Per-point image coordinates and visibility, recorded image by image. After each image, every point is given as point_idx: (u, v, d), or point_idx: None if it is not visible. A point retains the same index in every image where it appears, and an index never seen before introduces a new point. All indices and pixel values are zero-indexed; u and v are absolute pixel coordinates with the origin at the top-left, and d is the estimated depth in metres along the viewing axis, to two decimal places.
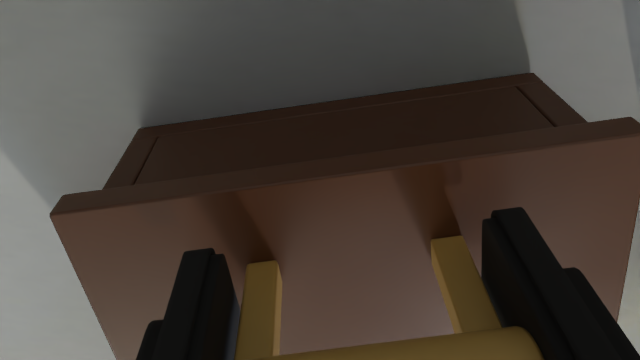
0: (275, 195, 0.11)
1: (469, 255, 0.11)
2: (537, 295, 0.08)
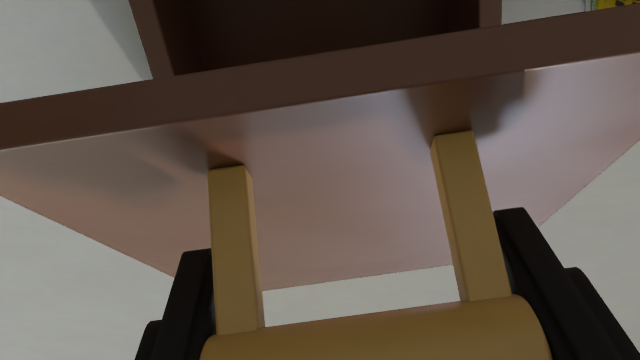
0: (236, 122, 0.08)
1: (479, 168, 0.09)
2: (539, 295, 0.08)
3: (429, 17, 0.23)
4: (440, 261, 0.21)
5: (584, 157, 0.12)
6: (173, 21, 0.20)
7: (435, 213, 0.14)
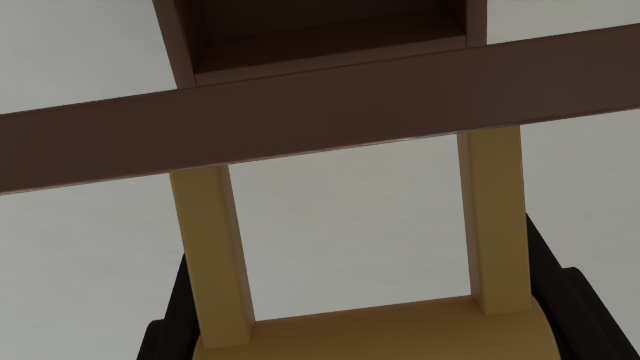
0: (205, 164, 0.06)
1: (519, 159, 0.07)
2: (536, 295, 0.08)
3: None
4: None
5: None
6: None
7: None
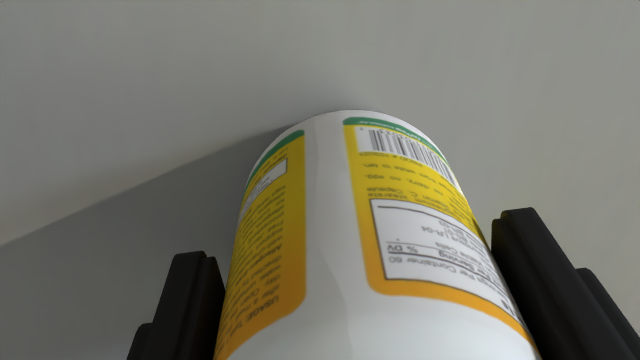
0: None
1: None
2: (550, 296, 0.08)
3: None
4: None
5: None
6: None
7: None
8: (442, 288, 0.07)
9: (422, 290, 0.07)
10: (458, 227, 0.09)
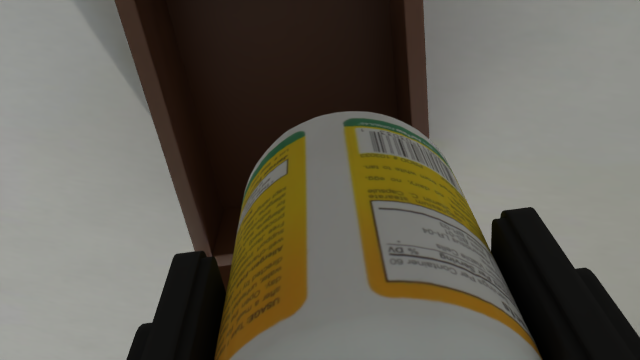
0: None
1: None
2: (550, 296, 0.08)
3: (378, 53, 0.28)
4: None
5: None
6: (165, 59, 0.25)
7: None
8: (443, 291, 0.07)
9: (423, 292, 0.07)
10: (460, 229, 0.09)
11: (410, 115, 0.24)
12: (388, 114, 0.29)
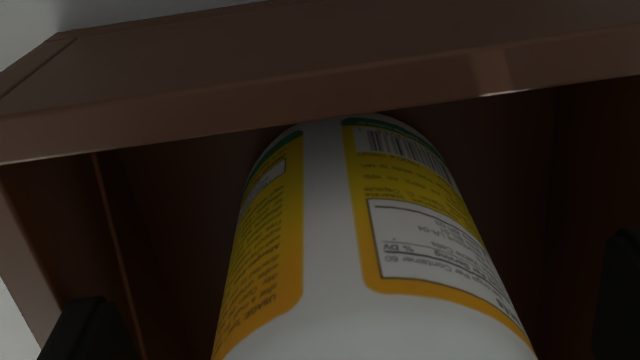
0: None
1: None
2: None
3: (517, 222, 0.15)
4: None
5: None
6: (106, 279, 0.12)
7: None
8: (436, 287, 0.07)
9: (417, 289, 0.07)
10: (455, 228, 0.09)
11: None
12: (521, 313, 0.16)
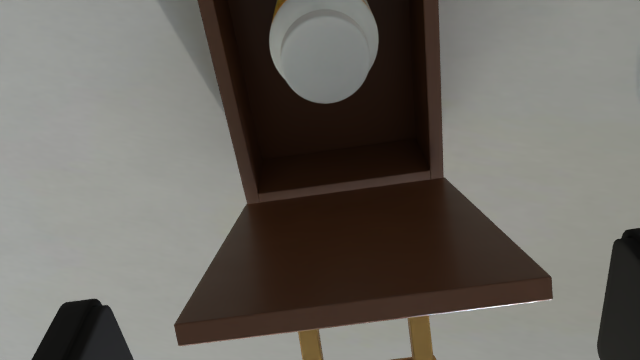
0: (319, 325, 0.18)
1: None
2: None
3: (397, 23, 0.33)
4: None
5: None
6: (224, 25, 0.30)
7: None
8: None
9: None
10: None
11: (425, 71, 0.30)
12: (404, 76, 0.35)
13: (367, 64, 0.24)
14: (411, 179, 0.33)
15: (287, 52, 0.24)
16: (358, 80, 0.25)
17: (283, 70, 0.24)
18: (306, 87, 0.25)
